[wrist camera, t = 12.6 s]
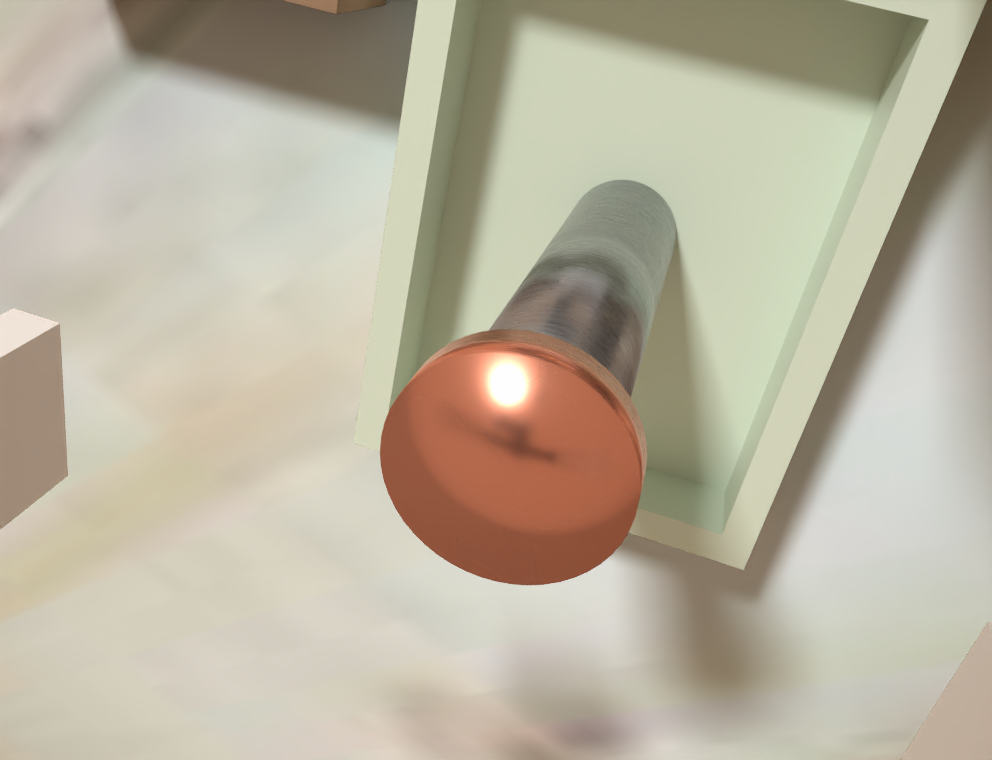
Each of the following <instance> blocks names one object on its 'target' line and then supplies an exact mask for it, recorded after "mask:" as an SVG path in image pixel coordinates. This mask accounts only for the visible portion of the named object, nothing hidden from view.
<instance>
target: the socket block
mask: <svg viewBox="0 0 992 760" xmlns="http://www.w3.org/2000/svg"><path fill="white" fill-rule="evenodd" d="M283 1H287V2H291V3H295V4H299V5H303V6H307V7H311V8H314V9H318V10H322V11H326V12H330V13H334V14H340V13H345V12H350V11H356V10H361V9H367V8H372V7H378V6H383V5H385V3H386V0H283Z"/></svg>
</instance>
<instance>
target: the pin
mask: <svg viewBox="0 0 992 760" xmlns="http://www.w3.org/2000/svg"><path fill="white" fill-rule="evenodd" d="M676 236H677V230H676V222H675V218H674V215H673V213H672V211H671V209H670V207H669V205H668V204H667V202H666V201H665V200H664V199H663V197H662V196H661V195H660V194H658V193H657V192H656V191H655V190H653V189H652V188H650V187H648V186H646V185H644V184H642V183H639V182H636V181H631V180H613V181H608V182H605V183H602V184H600V185H598V186H596V187H594V188H592V189H591V190H589V191H588V192H587V193H586V194H585V195H584V196H583V197H582V198H581V199H580V200H579V202H578V203H577V205H576V206H575V207H574V209H573V210H572V212H571V213H570V215H569V216H568V217H567V219H566V220H565V222H564V223H563V225H562V226H561V228H560V229H559V230H558V232H557V233H556V235H555V236H554V238H553V239H552V240H551V242H550V243H549V245H548V246H547V248H546V249H545V250H544V252H543V253H542V255H541V256H540V258H539V259H538V260H537V262H536V263H535V265H534V266H533V268H532V269H531V270H530V272H529V273H528V275H527V276H526V278H525V279H524V280H523V282H522V283H521V285H520V286H519V288H518V289H517V290H516V292H515V293H514V295H513V296H512V298H511V299H510V300H509V302H508V303H507V305H506V306H505V308H504V309H503V311H502V312H501V313H500V315H499V316H498V318H497V319H496V321H495V322H494V323H493V325H492V326H491V328H490V329H489V331H482V332H478V333H474V334H471V335H467V336H464V337H462V338H460V339H457V340H455V341H453V342H451V343H449V344H448V345H446V346H444V347H443V348H441V349H440V350H438V351H437V352H436V353H435V354H434V355H432V356H431V357H430V358H429V359H428V360H427V361H426V362H425V363H424V364H423V365H422V367H421V368H420V369H419V370H418V371H417V373H416V374H415V375H414V376H413V378H412V379H411V380H410V381H409V383H408V384H407V385H406V386H405V388H404V389H403V390H402V391H401V393H400V394H399V395H398V397H397V398H396V400H395V401H394V403H393V405H392V406H391V408H390V410H389V413H388V415H387V417H386V420H385V422H384V427H383V431H382V435H381V444H380V459H381V468H382V473H383V478H384V482H385V485H386V488H387V491H388V494H389V496H390V498H391V500H392V502H393V504H394V506H395V508H396V510H397V511H398V513H399V514H400V516H401V517H402V519H403V521H404V522H405V523H406V524H407V526H408V527H409V528H410V529H411V530H412V532H413V533H414V534H415V535H416V536H417V537H418V538H419V539H420V540H421V541H422V542H423V543H424V544H425V545H426V546H428V547H429V548H430V549H431V550H432V551H434V552H435V553H436V554H437V555H439V556H440V557H442V558H444V559H445V560H447V561H448V562H450V563H451V564H453V565H455V566H457V567H459V568H461V569H463V570H465V571H467V572H470V573H472V574H475V575H477V576H480V577H483V578H486V579H490V580H493V581H497V582H503V583H509V584H518V585H543V584H550V583H556V582H561V581H564V580H568V579H571V578H574V577H577V576H579V575H581V574H584V573H586V572H588V571H590V570H591V569H593V568H595V567H596V566H598V565H599V564H601V563H602V562H603V561H604V560H606V559H607V558H608V557H609V556H610V555H612V554H613V552H614V551H615V550H616V549H617V548H618V547H619V546H620V545H621V543H622V542H623V540H624V539H625V537H626V536H627V534H628V532H629V531H630V528H631V526H632V524H633V521H634V519H635V516H636V512H637V508H638V504H639V500H640V495H641V491H642V486H643V482H644V477H645V473H646V465H647V444H646V438H645V433H644V428H643V425H642V422H641V419H640V416H639V414H638V411H637V409H636V407H635V405H634V403H633V402H632V400H631V395H632V392H633V388H634V385H635V382H636V378H637V375H638V371H639V368H640V364H641V361H642V358H643V354H644V351H645V347H646V344H647V340H648V337H649V333H650V330H651V327H652V323H653V320H654V316H655V313H656V309H657V306H658V303H659V299H660V296H661V292H662V289H663V285H664V282H665V278H666V275H667V272H668V268H669V265H670V261H671V258H672V254H673V251H674V247H675V243H676Z"/></svg>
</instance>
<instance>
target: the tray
mask: <svg viewBox="0 0 992 760" xmlns="http://www.w3.org/2000/svg"><path fill="white" fill-rule="evenodd" d="M986 1H987V0H418V4H417V11H416V18H415V24H414V31H413V38H412V45H411V52H410V59H409V66H408V72H407V79H406V86H405V93H404V100H403V107H402V114H401V120H400V127H399V134H398V141H397V148H396V155H395V161H394V168H393V175H392V182H391V189H390V196H389V203H388V209H387V216H386V223H385V230H384V237H383V244H382V251H381V257H380V264H379V271H378V278H377V285H376V292H375V299H374V305H373V312H372V319H371V326H370V333H369V340H368V346H367V353H366V360H365V367H364V374H363V381H362V388H361V394H360V401H359V408H358V415H357V422H356V429H355V436H354V442H353V443H354V444H357V445H360V446H363V447H366V448H369V449H372V450H375V451H378V452H380V444H381V435H382V431H383V427H384V422H385V420H386V417H387V415H388V413H389V410H390V408H391V406H392V405H393V403H394V401H395V400H396V398H397V397H398V395H399V394H400V393H401V391H402V390H403V389H404V388H405V386H406V385H407V384H408V383H409V381H410V380H411V379H412V378H413V376H414V375H415V374H416V373H417V371H418V370H419V369H420V368H421V367H422V365H423V364H424V363H425V362H426V361H427V360H428V359H429V358H430V357H431V356H432V355H434V354H435V353H436V352H437V351H438V350H440V349H441V348H443V347H444V346H446V345H448V344H449V343H451V342H453V341H455V340H457V339H460V338H462V337H464V336H467V335H471V334H474V333H478V332H482V331H489V329H490V328H491V326H492V325H493V323H494V322H495V321H496V319H497V318H498V316H499V315H500V313H501V312H502V311H503V309H504V308H505V306H506V305H507V303H508V302H509V300H510V299H511V298H512V296H513V295H514V293H515V292H516V290H517V289H518V288H519V286H520V285H521V283H522V282H523V280H524V279H525V278H526V276H527V275H528V273H529V272H530V270H531V269H532V268H533V266H534V265H535V263H536V262H537V260H538V259H539V258H540V256H541V255H542V253H543V252H544V250H545V249H546V248H547V246H548V245H549V243H550V242H551V240H552V239H553V238H554V236H555V235H556V233H557V232H558V230H559V229H560V228H561V226H562V225H563V223H564V222H565V220H566V219H567V217H568V216H569V215H570V213H571V212H572V210H573V209H574V207H575V206H576V205H577V203H578V202H579V200H580V199H581V198H582V197H583V196H584V195H585V194H586V193H587V192H588V191H589V190H591V189H592V188H594V187H596V186H598V185H600V184H602V183H605V182H608V181H613V180H631V181H636V182H639V183H642V184H644V185H646V186H648V187H650V188H652V189H653V190H655V191H656V192H657V193H658V194H660V195H661V196H662V197H663V199H664V200H665V201H666V202H667V204H668V205H669V207H670V209H671V211H672V213H673V215H674V218H675V222H676V230H677V236H676V243H675V247H674V251H673V254H672V258H671V261H670V265H669V268H668V272H667V275H666V278H665V282H664V285H663V289H662V292H661V296H660V299H659V303H658V306H657V309H656V313H655V316H654V320H653V323H652V327H651V330H650V333H649V337H648V340H647V344H646V347H645V351H644V354H643V358H642V361H641V364H640V368H639V371H638V375H637V378H636V382H635V385H634V388H633V392H632V395H631V400H632V402H633V403H634V405H635V407H636V409H637V411H638V414H639V416H640V419H641V422H642V425H643V428H644V433H645V438H646V444H647V465H646V473H645V477H644V482H643V486H642V491H641V495H640V500H639V504H638V508H637V512H636V516H635V519H634V521H633V524H632V526H631V528H630V531H629V532H628V533H630V534H634V535H637V536H640V537H643V538H646V539H649V540H652V541H655V542H658V543H661V544H664V545H667V546H670V547H673V548H677V549H680V550H683V551H686V552H689V553H692V554H695V555H698V556H701V557H704V558H707V559H710V560H713V561H717V562H720V563H723V564H726V565H729V566H732V567H735V568H738V569H741V570H744V568H745V566H746V564H747V561H748V559H749V557H750V554H751V552H752V549H753V547H754V545H755V542H756V540H757V538H758V535H759V533H760V531H761V528H762V526H763V524H764V521H765V519H766V517H767V514H768V512H769V510H770V507H771V505H772V503H773V500H774V498H775V496H776V493H777V491H778V489H779V486H780V484H781V482H782V479H783V477H784V474H785V472H786V470H787V467H788V465H789V463H790V460H791V458H792V456H793V453H794V451H795V449H796V446H797V444H798V442H799V439H800V437H801V435H802V432H803V430H804V428H805V425H806V423H807V421H808V418H809V416H810V414H811V411H812V409H813V407H814V404H815V402H816V400H817V397H818V395H819V392H820V390H821V388H822V385H823V383H824V381H825V378H826V376H827V374H828V371H829V369H830V367H831V364H832V362H833V360H834V357H835V355H836V353H837V350H838V348H839V346H840V343H841V341H842V339H843V336H844V334H845V332H846V329H847V327H848V325H849V322H850V320H851V317H852V315H853V313H854V310H855V308H856V306H857V303H858V301H859V299H860V296H861V294H862V292H863V289H864V287H865V285H866V282H867V280H868V278H869V275H870V273H871V271H872V268H873V266H874V264H875V261H876V259H877V257H878V254H879V252H880V250H881V247H882V245H883V243H884V240H885V238H886V235H887V233H888V231H889V228H890V226H891V224H892V221H893V219H894V217H895V214H896V212H897V210H898V207H899V205H900V203H901V200H902V198H903V196H904V193H905V191H906V189H907V186H908V184H909V182H910V179H911V177H912V175H913V172H914V170H915V168H916V165H917V163H918V160H919V158H920V156H921V153H922V151H923V149H924V146H925V144H926V142H927V139H928V137H929V135H930V132H931V130H932V128H933V125H934V123H935V121H936V118H937V116H938V114H939V111H940V109H941V107H942V104H943V102H944V100H945V97H946V95H947V93H948V90H949V88H950V86H951V83H952V81H953V78H954V76H955V74H956V71H957V69H958V67H959V64H960V62H961V60H962V57H963V55H964V53H965V50H966V48H967V46H968V43H969V41H970V39H971V36H972V34H973V32H974V29H975V27H976V25H977V22H978V20H979V18H980V15H981V13H982V11H983V8H984V6H985V4H986Z"/></svg>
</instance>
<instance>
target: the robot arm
mask: <svg viewBox="0 0 992 760" xmlns="http://www.w3.org/2000/svg"><path fill="white" fill-rule="evenodd" d="M67 476H68V469H67V450H66V432H65V413H64V394H63V375H62V357H61V338H60V323H57V322H54V321H51V320H48V319H45V318H41V317H38V316H35V315H32V314H29V313H26V312H23V311H20V310H17V309H11V310H10V311H8V312H6V313H4V314H2V315H0V529H2V528H3V527H4V526H5V525H7V524H8V523H9V522H10V521H12V520H13V519H14V518H15V517H17V516H18V515H19V514H20V513H22V512H23V511H24V510H25V509H27V508H28V507H29V506H30V505H32V504H33V503H34V502H35V501H37V500H38V499H39V498H40V497H42V496H43V495H44V494H45V493H47V492H48V491H49V490H50V489H52V488H53V487H54V486H55V485H57V484H58V483H59V482H60V481H62V480H63V479H64V478H65V477H67ZM901 760H992V623H990V622H988V623H987V624H986V626H985V627H984V629H983V630H982V632H981V634H980V635H979V637H978V638H977V640H976V641H975V643H974V645H973V646H972V648H971V649H970V651H969V653H968V654H967V656H966V657H965V659H964V660H963V662H962V664H961V665H960V667H959V668H958V670H957V671H956V673H955V675H954V676H953V678H952V679H951V681H950V682H949V684H948V686H947V687H946V689H945V690H944V692H943V693H942V695H941V697H940V698H939V700H938V701H937V703H936V705H935V706H934V708H933V709H932V711H931V712H930V714H929V716H928V717H927V719H926V720H925V722H924V723H923V725H922V727H921V728H920V730H919V731H918V733H917V734H916V736H915V738H914V739H913V741H912V742H911V744H910V745H909V747H908V749H907V750H906V752H905V753H904V755H903V757H902V758H901Z"/></svg>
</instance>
